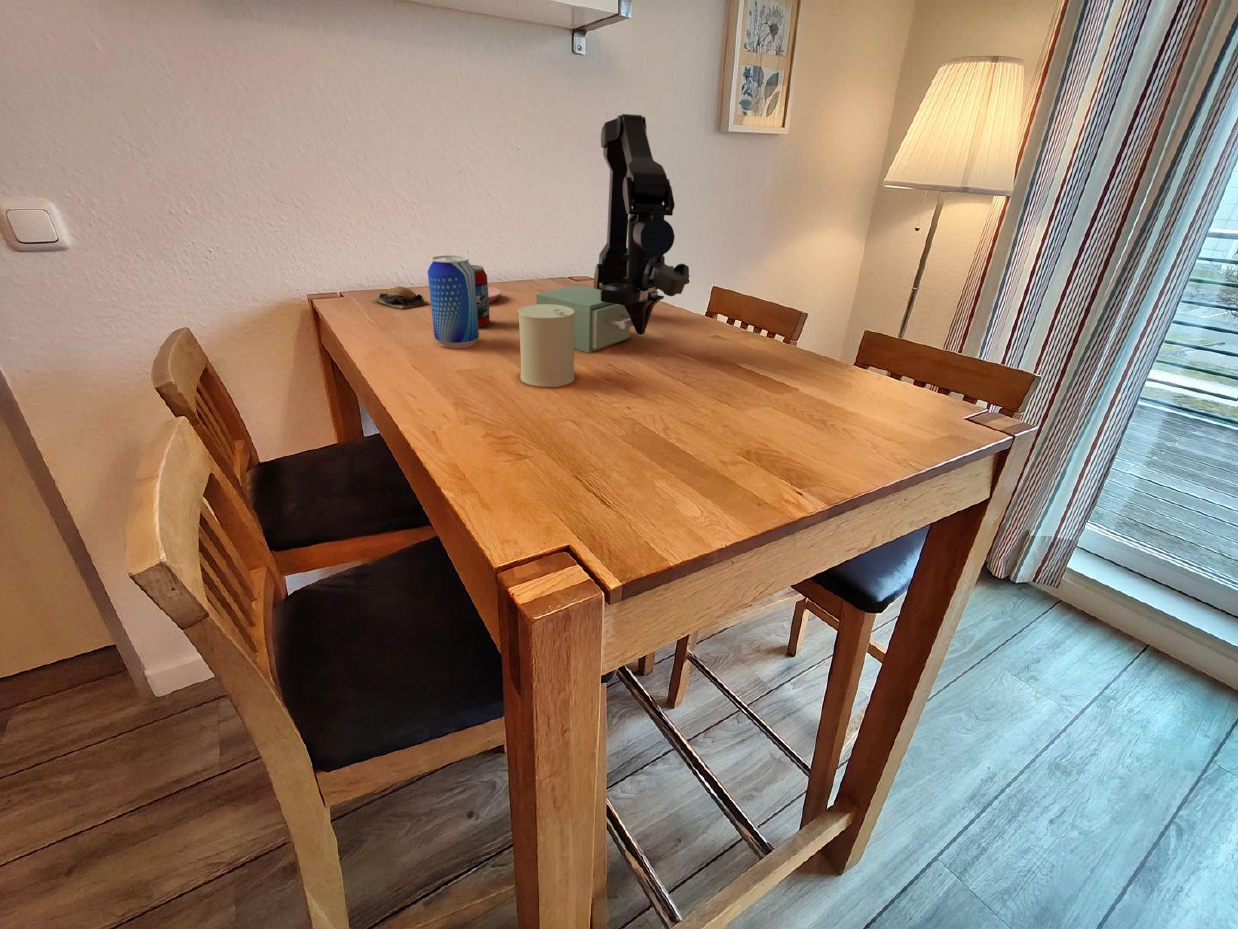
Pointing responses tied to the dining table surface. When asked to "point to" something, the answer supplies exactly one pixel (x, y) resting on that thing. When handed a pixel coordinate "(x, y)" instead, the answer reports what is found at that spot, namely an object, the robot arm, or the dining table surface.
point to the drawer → (609, 325)
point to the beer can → (453, 301)
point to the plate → (493, 293)
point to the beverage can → (481, 295)
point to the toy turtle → (401, 298)
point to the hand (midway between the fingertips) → (640, 334)
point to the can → (547, 345)
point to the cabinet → (577, 310)
